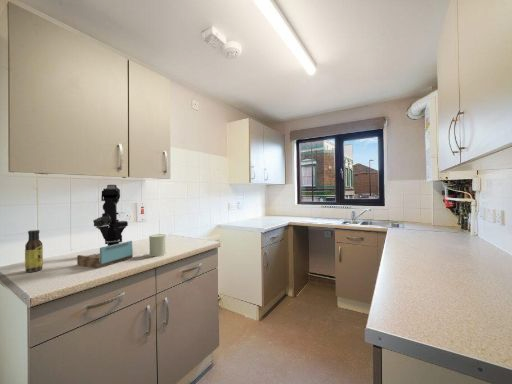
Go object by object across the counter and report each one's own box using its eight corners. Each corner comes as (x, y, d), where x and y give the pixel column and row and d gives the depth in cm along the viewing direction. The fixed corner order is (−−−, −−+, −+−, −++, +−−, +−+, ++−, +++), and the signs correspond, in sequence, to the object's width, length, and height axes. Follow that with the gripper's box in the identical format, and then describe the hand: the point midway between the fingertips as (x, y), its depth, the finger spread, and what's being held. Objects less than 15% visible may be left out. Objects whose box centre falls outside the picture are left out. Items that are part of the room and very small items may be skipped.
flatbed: (77, 265, 120) (77, 255, 120) (113, 255, 139) (113, 246, 139) (97, 268, 114) (97, 258, 114) (132, 257, 133) (132, 248, 133)
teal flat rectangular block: (100, 263, 115) (99, 247, 115) (130, 254, 131) (130, 240, 131) (102, 264, 115) (102, 248, 115) (132, 254, 131) (132, 240, 131)
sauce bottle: (41, 271, 112) (40, 230, 112) (23, 273, 108) (22, 231, 108) (44, 267, 117) (43, 228, 117) (27, 270, 114) (26, 230, 114)
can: (168, 252, 142) (168, 233, 142) (161, 256, 133) (160, 236, 133) (154, 252, 143) (154, 233, 143) (146, 256, 134) (145, 236, 134)
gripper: (83, 212, 122) (84, 241, 122) (109, 212, 116) (110, 243, 116) (103, 210, 132) (104, 237, 132) (128, 210, 126) (128, 239, 126)
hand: (111, 239), depth 126 cm, fingers open, 9 cm apart
